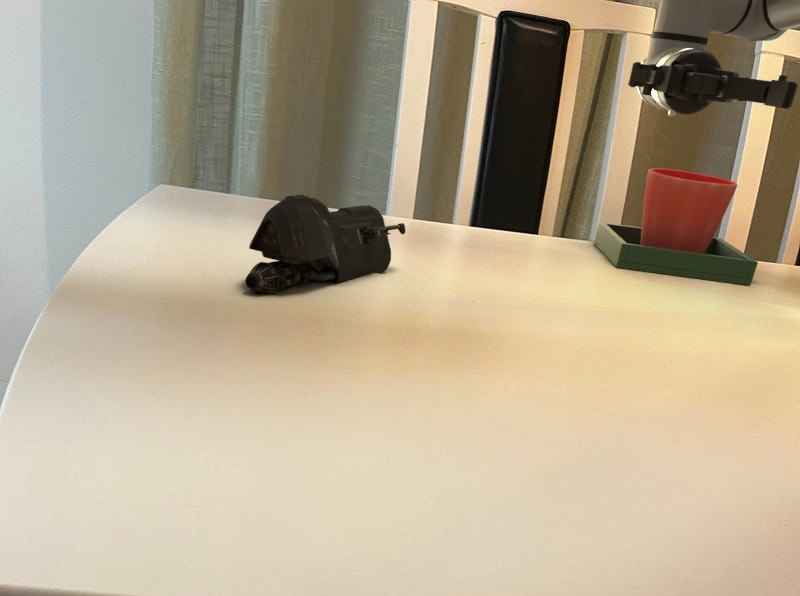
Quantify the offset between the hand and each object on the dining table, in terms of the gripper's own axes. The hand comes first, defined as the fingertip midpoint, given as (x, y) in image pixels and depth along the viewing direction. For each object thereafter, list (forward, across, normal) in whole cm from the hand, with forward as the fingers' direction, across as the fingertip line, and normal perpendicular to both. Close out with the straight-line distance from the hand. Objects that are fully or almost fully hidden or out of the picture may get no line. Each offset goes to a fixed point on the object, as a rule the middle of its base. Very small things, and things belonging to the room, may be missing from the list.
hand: (730, 87), depth 116 cm
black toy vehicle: (+34, +44, -20) cm, 59 cm away
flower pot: (-4, 0, -20) cm, 20 cm away
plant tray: (-4, 0, -20) cm, 21 cm away
